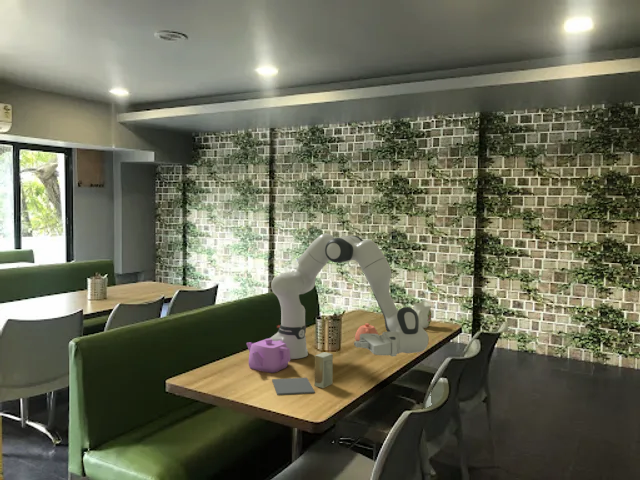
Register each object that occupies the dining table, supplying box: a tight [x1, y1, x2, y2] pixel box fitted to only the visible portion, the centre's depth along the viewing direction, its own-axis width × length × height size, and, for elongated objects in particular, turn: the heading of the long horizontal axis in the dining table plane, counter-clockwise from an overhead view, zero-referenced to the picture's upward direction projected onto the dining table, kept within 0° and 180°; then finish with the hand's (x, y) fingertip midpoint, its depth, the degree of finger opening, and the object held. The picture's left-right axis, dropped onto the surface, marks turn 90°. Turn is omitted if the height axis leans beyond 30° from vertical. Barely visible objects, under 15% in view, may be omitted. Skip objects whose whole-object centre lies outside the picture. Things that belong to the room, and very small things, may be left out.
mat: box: [271, 377, 316, 396], centre depth 200 cm, size 14×16×1 cm
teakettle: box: [246, 337, 291, 374], centre depth 223 cm, size 17×17×12 cm
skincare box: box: [314, 351, 334, 389], centre depth 202 cm, size 6×4×12 cm
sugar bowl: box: [354, 322, 379, 341], centre depth 265 cm, size 12×14×10 cm
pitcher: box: [412, 301, 432, 329], centre depth 305 cm, size 11×18×14 cm, turn 157°
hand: (355, 344), depth 203 cm, fingers closed
